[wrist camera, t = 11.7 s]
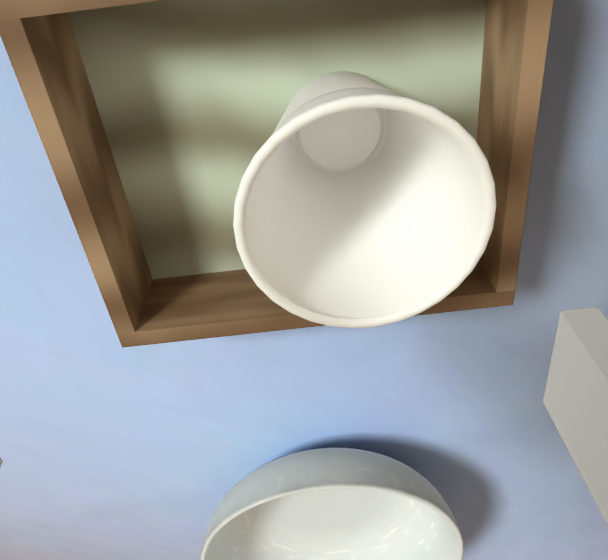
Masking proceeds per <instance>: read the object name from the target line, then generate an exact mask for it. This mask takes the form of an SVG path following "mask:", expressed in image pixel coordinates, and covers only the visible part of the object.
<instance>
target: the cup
mask: <svg viewBox="0 0 608 560" xmlns="http://www.w3.org/2000/svg"><path fill="white" fill-rule="evenodd" d="M495 212H496V194H495V182H494V179H493V176H492V173H491V170H490V166H489V163H488V160H487V158H486V157H485V155H484V153H483V152H482V150H481V148H480V147H479V145H478V144H477V142H476V140H475V139H474V138H473V137H472V136H471V135H470V134H469V133H468V132H467V131H466V130H465V129H464V128H463V127H462V126H461V125H460V124H459V123H458V122H457V121H456V120H455V119H453V118H451V117H450V116H448V115H447V114H445V113H443V112H442V111H440V110H438V109H437V108H435V107H433V106H431V105H428V104H425V103H422V102H419V101H416V100H413V99H410V98H407V97H403V96H400V95H399V94H397V93H395V92H393V91H392V90H390V89H388V88H386V87H385V86H383V85H381V84H380V83H378V82H376V81H375V80H373V79H371V78H369V77H368V76H365V75H362V74H359V73H356V72H349V71H337V72H330V73H327V74H323V75H320V76H318V77H316V78H314V79H312V80H310V81H309V82H308V83H306V84H305V85H304V86H303V87H301V88H300V89H299V91H298V92H297V93H296V94H295V95H294V96H293V98H292V99H291V101H290V103H289V105H288V107H287V109H286V110H285V112H284V114H283V116H282V118H281V120H280V122H279V123H278V125H277V127H276V129H275V131H274V133H273V134H272V135H271V136H270V138H269V139H268V140H267V141H266V142H265V143H264V145H263V146H262V147H261V148H260V149H259V150H258V152H257V153H256V154H255V155H254V156H253V158H252V160H251V162H250V164H249V166H248V167H247V169H246V171H245V173H244V175H243V177H242V179H241V182H240V185H239V189H238V192H237V196H236V199H235V204H234V220H233V227H234V234H235V240H236V246H237V250H238V252H239V255H240V257H241V260H242V262H243V265H244V267H245V269H246V270H247V272H248V273H249V275H250V276H251V278H252V279H253V281H254V282H255V284H256V285H257V286H258V287H259V288H260V289H261V290H262V291H263V292H264V293H265V294H266V295H267V296H268V297H269V298H270V299H271V300H272V301H273V302H275V303H276V304H278V305H279V306H281V307H282V308H284V309H285V310H287V311H288V312H290V313H292V314H294V315H297V316H299V317H301V318H304V319H306V320H308V321H311V322H315V323H319V324H323V325H328V326H332V327H345V328H364V327H377V326H381V325H386V324H390V323H394V322H399V321H401V320H404V319H406V318H409V317H411V316H414V315H417V314H419V313H421V312H423V311H425V310H426V309H428V308H430V307H432V306H433V305H435V304H437V303H438V302H440V301H441V300H443V299H444V298H445V297H446V296H448V295H449V294H450V293H451V292H452V291H454V290H455V289H456V288H457V287H458V286H459V285H460V284H461V283H462V282H463V281H464V280H465V278H466V277H467V276H468V275H469V274H470V273H471V272H472V271H473V269H474V268H475V266H476V264H477V263H478V261H479V259H480V258H481V256H482V254H483V253H484V251H485V249H486V246H487V244H488V241H489V238H490V235H491V233H492V230H493V225H494V218H495Z"/></svg>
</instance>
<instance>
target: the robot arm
mask: <svg viewBox="0 0 608 560" xmlns="http://www.w3.org/2000/svg"><path fill="white" fill-rule="evenodd" d="M543 403H544V405H545V407H546V409H547V411H548V413H549V415H550V416H551V418H552V420H553V422H554V424H555V426H556V428H557V430H558V432H559V434H560V435H561V437H562V439H563V441H564V443H565V445H566V447H567V449H568V451H569V453H570V454H571V456H572V458H573V460H574V462H575V464H576V466H577V468H578V470H579V472H580V473H581V475H582V477H583V479H584V481H585V483H586V485H587V487H588V489H589V491H590V492H591V494H592V496H593V498H594V500H595V502H596V504H597V506H598V508H599V510H600V511H601V513H602V515H603V517H604V519H605V521H606V523H607V525H608V320H607V318H606V317H605V316H604V314H603V313H602V312H601V311H600V309H599V308H598V307H594V308H586V309H577V310H568V311H561V312H560V317H559V322H558V327H557V332H556V337H555V343H554V348H553V353H552V358H551V363H550V368H549V373H548V378H547V384H546V389H545V394H544V399H543ZM2 462H3V461H2V459H1V458H0V467H1V464H2Z"/></svg>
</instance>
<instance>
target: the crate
mask: <svg viewBox="0 0 608 560" xmlns="http://www.w3.org/2000/svg"><path fill="white" fill-rule="evenodd" d="M552 7H553V0H0V36H1V38H2V41H3V43H4V46H5V48H6V51H7V54H8V56H9V59H10V61H11V64H12V66H13V69H14V72H15V74H16V77H17V79H18V82H19V84H20V87H21V89H22V92H23V95H24V97H25V100H26V102H27V105H28V107H29V110H30V112H31V115H32V118H33V120H34V123H35V125H36V128H37V130H38V133H39V135H40V138H41V141H42V143H43V146H44V148H45V151H46V153H47V156H48V158H49V161H50V164H51V166H52V169H53V171H54V174H55V176H56V179H57V182H58V184H59V187H60V189H61V192H62V194H63V197H64V199H65V202H66V205H67V207H68V210H69V212H70V215H71V217H72V220H73V222H74V225H75V228H76V230H77V233H78V235H79V238H80V240H81V243H82V245H83V248H84V251H85V253H86V256H87V258H88V261H89V263H90V266H91V269H92V271H93V274H94V276H95V279H96V281H97V284H98V286H99V289H100V292H101V294H102V297H103V299H104V302H105V304H106V307H107V309H108V312H109V315H110V317H111V320H112V322H113V325H114V327H115V330H116V332H117V335H118V338H119V340H120V343H121V345H122V347H131V346H140V345H149V344H158V343H167V342H176V341H186V340H195V339H204V338H213V337H222V336H231V335H241V334H250V333H259V332H268V331H277V330H286V329H296V328H305V327H314V326H323V324H319V323H315V322H311V321H308V320H306V319H304V318H301V317H299V316H297V315H294V314H292V313H290V312H288V311H287V310H285V309H284V308H282V307H281V306H279V305H278V304H276V303H275V302H273V301H272V300H271V299H270V298H269V297H268V296H267V295H266V294H265V293H264V292H263V291H262V290H261V289H260V288H259V287H258V286H257V285H256V284H255V282H254V281H253V279H252V278H251V276H250V275H249V273H248V272H247V270H246V269H245V267H244V265H243V262H242V260H241V257H240V255H239V252H238V250H237V246H236V240H235V234H234V227H233V220H234V204H235V199H236V196H237V192H238V189H239V185H240V182H241V179H242V177H243V175H244V173H245V171H246V169H247V167H248V166H249V164H250V162H251V160H252V158H253V156H254V155H255V154H256V153H257V152H258V150H259V149H260V148H261V147H262V146H263V145H264V143H265V142H266V141H267V140H268V139H269V138H270V136H271V135H272V134H273V133H274V131H275V129H276V127H277V125H278V123H279V122H280V120H281V118H282V116H283V114H284V112H285V110H286V109H287V107H288V105H289V103H290V101H291V99H292V98H293V96H294V95H295V94H296V93H297V92H298V91H299V89H300V88H301V87H303V86H304V85H305V84H306V83H308V82H309V81H310V80H312V79H314V78H316V77H318V76H320V75H323V74H327V73H330V72H337V71H349V72H356V73H359V74H362V75H365V76H368V77H369V78H371V79H373V80H375V81H376V82H378V83H380V84H381V85H383V86H385V87H386V88H388V89H390V90H392V91H393V92H395V93H397V94H399V95H400V96H403V97H407V98H410V99H413V100H416V101H419V102H422V103H425V104H428V105H431V106H433V107H435V108H437V109H438V110H440V111H442V112H443V113H445V114H447V115H448V116H450V117H451V118H453V119H455V120H456V121H457V122H458V123H459V124H460V125H461V126H462V127H463V128H464V129H465V130H466V131H467V132H468V133H469V134H470V135H471V136H472V137H473V138H474V139H475V140H476V142H477V144H478V145H479V147H480V148H481V150H482V152H483V153H484V155H485V157H486V158H487V160H488V163H489V166H490V170H491V173H492V176H493V179H494V182H495V194H496V212H495V218H494V225H493V230H492V233H491V235H490V238H489V241H488V244H487V246H486V249H485V251H484V253H483V254H482V256H481V258H480V259H479V261H478V263H477V264H476V266H475V268H474V269H473V271H472V272H471V273H470V274H469V275H468V276H467V277H466V278H465V280H464V281H463V282H462V283H461V284H460V285H459V286H458V287H457V288H456V289H455V290H454V291H452V292H451V293H450V294H449V295H448V296H446V297H445V298H444V299H443V300H441V301H440V302H438V303H437V304H435V305H433V306H432V307H430V308H428V309H426V310H425V311H423V312H421V313H419V314H417V315H424V314H433V313H442V312H451V311H461V310H470V309H479V308H488V307H497V306H506V305H513V302H514V294H515V287H516V279H517V272H518V264H519V257H520V249H521V241H522V234H523V226H524V219H525V211H526V204H527V196H528V189H529V181H530V173H531V166H532V158H533V151H534V143H535V136H536V128H537V121H538V113H539V105H540V98H541V90H542V83H543V75H544V68H545V60H546V53H547V45H548V37H549V30H550V22H551V15H552ZM414 316H415V315H414Z"/></svg>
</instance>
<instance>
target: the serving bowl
mask: <svg viewBox="0 0 608 560" xmlns="http://www.w3.org/2000/svg"><path fill="white" fill-rule="evenodd" d="M463 552H464V544H463V537H462V534H461V531H460V529H459V526H458V524H457V522H456V520H455V518H454V515H453V514H452V512H451V510H450V508H449V506H448V505H447V503H446V501H445V500H444V498H443V497H442V496H441V494H440V493H439V492H438V491H437V489H436V488H435V487H434V486H433V485H432V484H431V483H430V482H429V481H428V480H427V479H426V478H424V477H423V476H422V475H421V474H419V473H418V472H417V471H415V470H414V469H412V468H411V467H409V466H407V465H406V464H404V463H402V462H400V461H397V460H395V459H393V458H390V457H388V456H385V455H382V454H379V453H375V452H371V451H366V450H360V449H352V448H319V449H311V450H305V451H300V452H296V453H292V454H289V455H286V456H283V457H280V458H277V459H275V460H273V461H270V462H268V463H266V464H264V465H263V466H261V467H259V468H257V469H256V470H254V471H253V472H251V473H250V474H248V475H247V476H246V477H244V478H243V479H242V480H241V481H240V482H238V483H237V484H236V485H235V486H234V487H233V488H232V489H231V490H230V491H229V493H228V494H227V495H226V496H225V497H224V499H223V500H222V502H221V503H220V505H219V506H218V508H217V510H216V511H215V513H214V515H213V517H212V520H211V522H210V524H209V527H208V530H207V533H206V536H205V540H204V543H203V547H202V551H201V558H200V560H462V558H463Z"/></svg>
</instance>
